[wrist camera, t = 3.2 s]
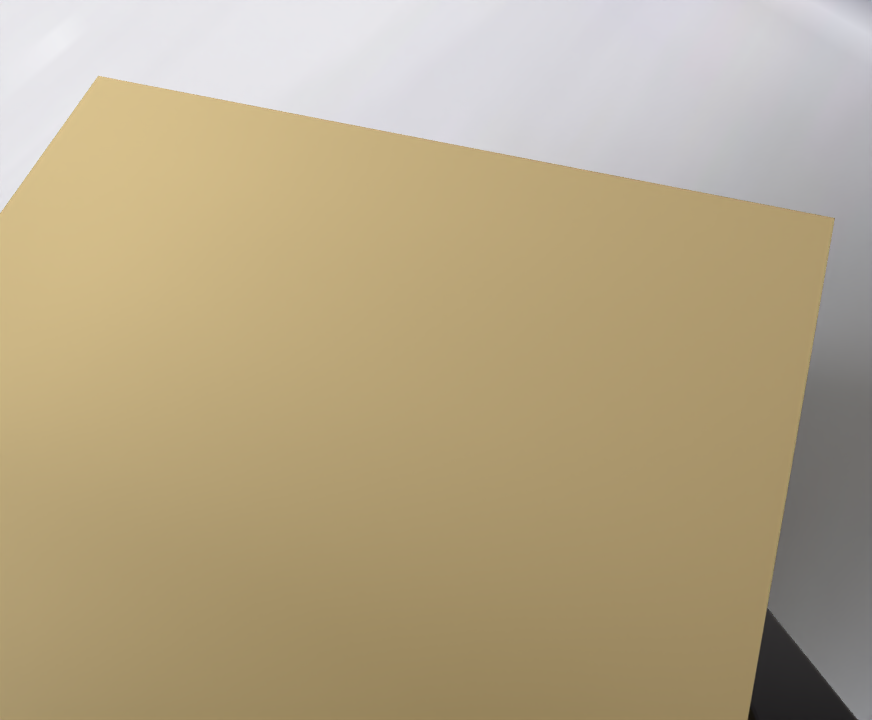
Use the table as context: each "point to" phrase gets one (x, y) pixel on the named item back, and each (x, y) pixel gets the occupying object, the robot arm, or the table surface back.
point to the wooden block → (384, 426)
